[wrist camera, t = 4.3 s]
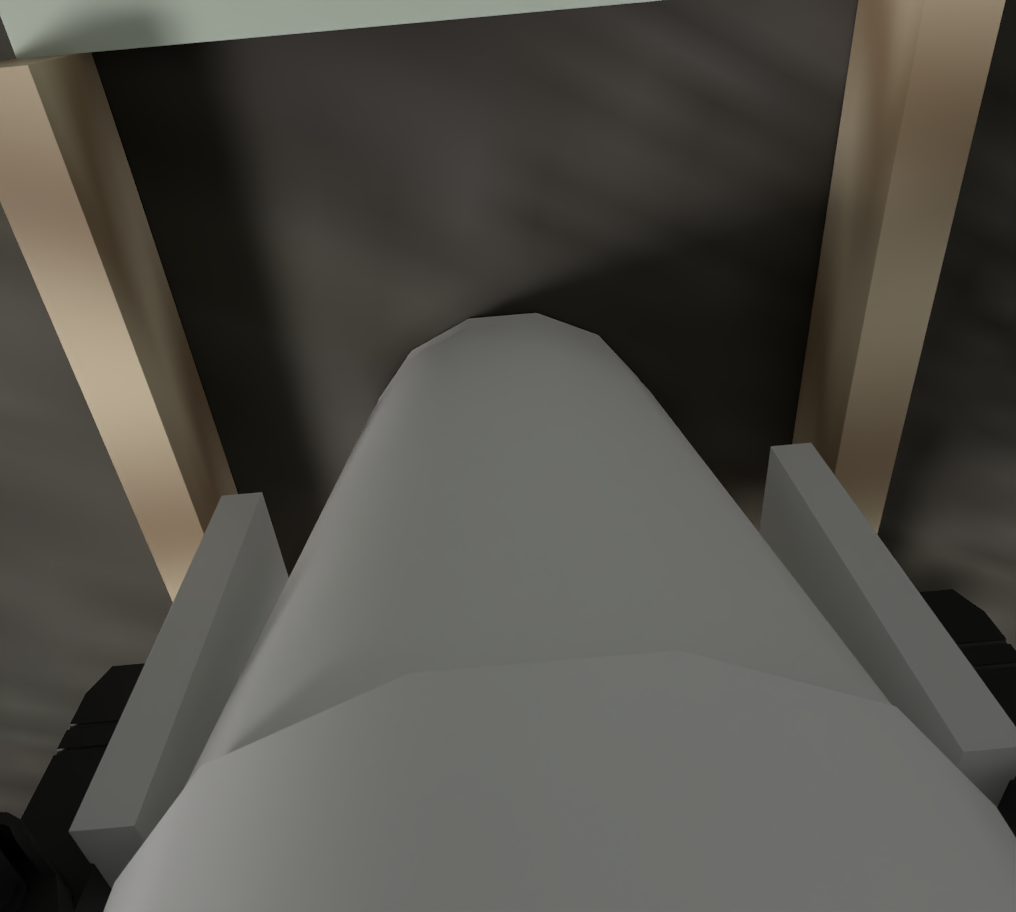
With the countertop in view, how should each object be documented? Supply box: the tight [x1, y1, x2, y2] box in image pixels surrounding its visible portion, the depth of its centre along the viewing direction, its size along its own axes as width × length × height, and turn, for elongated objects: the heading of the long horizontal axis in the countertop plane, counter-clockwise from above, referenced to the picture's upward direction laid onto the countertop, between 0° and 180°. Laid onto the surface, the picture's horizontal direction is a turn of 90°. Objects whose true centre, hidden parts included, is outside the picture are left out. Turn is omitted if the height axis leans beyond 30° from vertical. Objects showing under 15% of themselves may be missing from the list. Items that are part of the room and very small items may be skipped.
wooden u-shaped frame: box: [0, 0, 1006, 601], centre depth 15 cm, size 16×15×4 cm
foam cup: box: [103, 313, 1016, 912], centre depth 12 cm, size 10×9×13 cm
